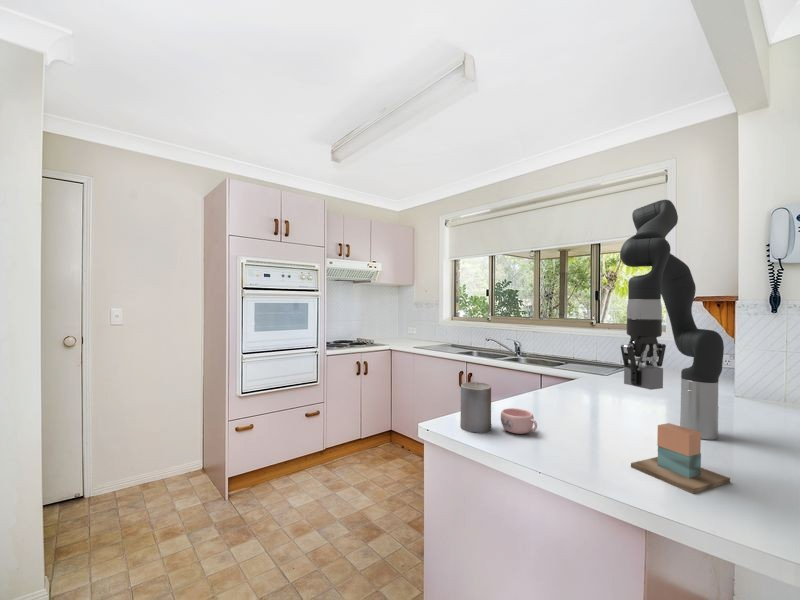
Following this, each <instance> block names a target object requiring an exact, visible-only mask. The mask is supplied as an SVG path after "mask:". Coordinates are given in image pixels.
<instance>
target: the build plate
mask: <svg viewBox="0 0 800 600" xmlns="http://www.w3.org/2000/svg"><path fill="white" fill-rule="evenodd" d="M630 468H631V469H632V468H633V469H635V470H637V471H640V472H641V473H644V474H646V475H648V476H651V477H653V478H656V479H658V480H661V481H663V482H665V483H668V484H669V485H672V486H674V487H677V488H679V489H681V490H683V491H686V492H688V493H690V494H693V495H694V494H698V493H700V492H703V491H707V490H710V489H712V488H713V489H714V488H718V487H720V486H723V485H727V484H729V483H728V482H730V483H731V477H727V476H726V475H722V474H720V473H718V472H715V471H712V470H709V469H708V468H704V467H702V453H701V452H700V454H697V455H693V456H686V455H683V454H680V453H677V452H675V451H672V450H669V449H666V448H663V447H660V446H658V445H657V456H655V457H651V458H647V459H643V460H638V461H637V460H636V461H633V462H630ZM726 483H727V484H726Z"/></svg>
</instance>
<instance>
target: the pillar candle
mask: <svg viewBox="0 0 800 600" xmlns="http://www.w3.org/2000/svg"><path fill="white" fill-rule="evenodd" d="M459 422H460V425H459V427H460V428H461V430H463V431H466V432H469V433H477V434H478V433H479V434H482V433H483V434H484V433H488V432H490V431H491V429H492V385H490V384H489V383H485V382H478V381H473V382H472V381H468V382H463V383H461V385H460V421H459Z"/></svg>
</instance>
